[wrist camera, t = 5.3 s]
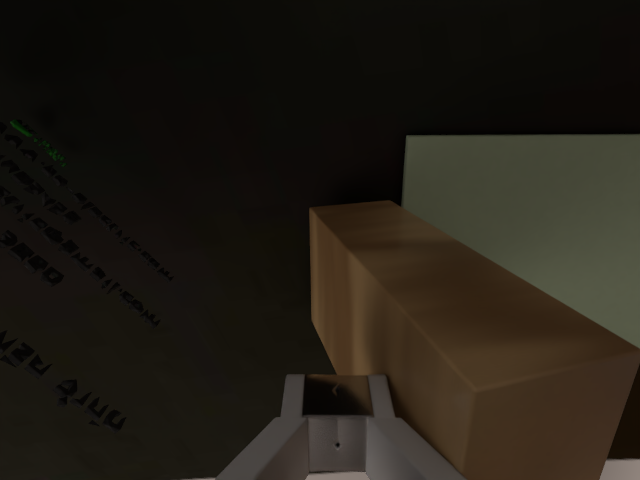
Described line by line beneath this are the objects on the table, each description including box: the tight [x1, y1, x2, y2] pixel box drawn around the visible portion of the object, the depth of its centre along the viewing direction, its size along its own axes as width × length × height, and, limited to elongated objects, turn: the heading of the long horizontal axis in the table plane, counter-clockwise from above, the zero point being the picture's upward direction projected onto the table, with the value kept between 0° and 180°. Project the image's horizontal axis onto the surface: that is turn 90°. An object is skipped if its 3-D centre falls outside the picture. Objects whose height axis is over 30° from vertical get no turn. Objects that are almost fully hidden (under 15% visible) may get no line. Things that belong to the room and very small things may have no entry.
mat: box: [401, 134, 640, 348], centre depth 20 cm, size 14×12×1 cm
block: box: [309, 200, 640, 480], centre depth 14 cm, size 4×6×12 cm, turn 1°
